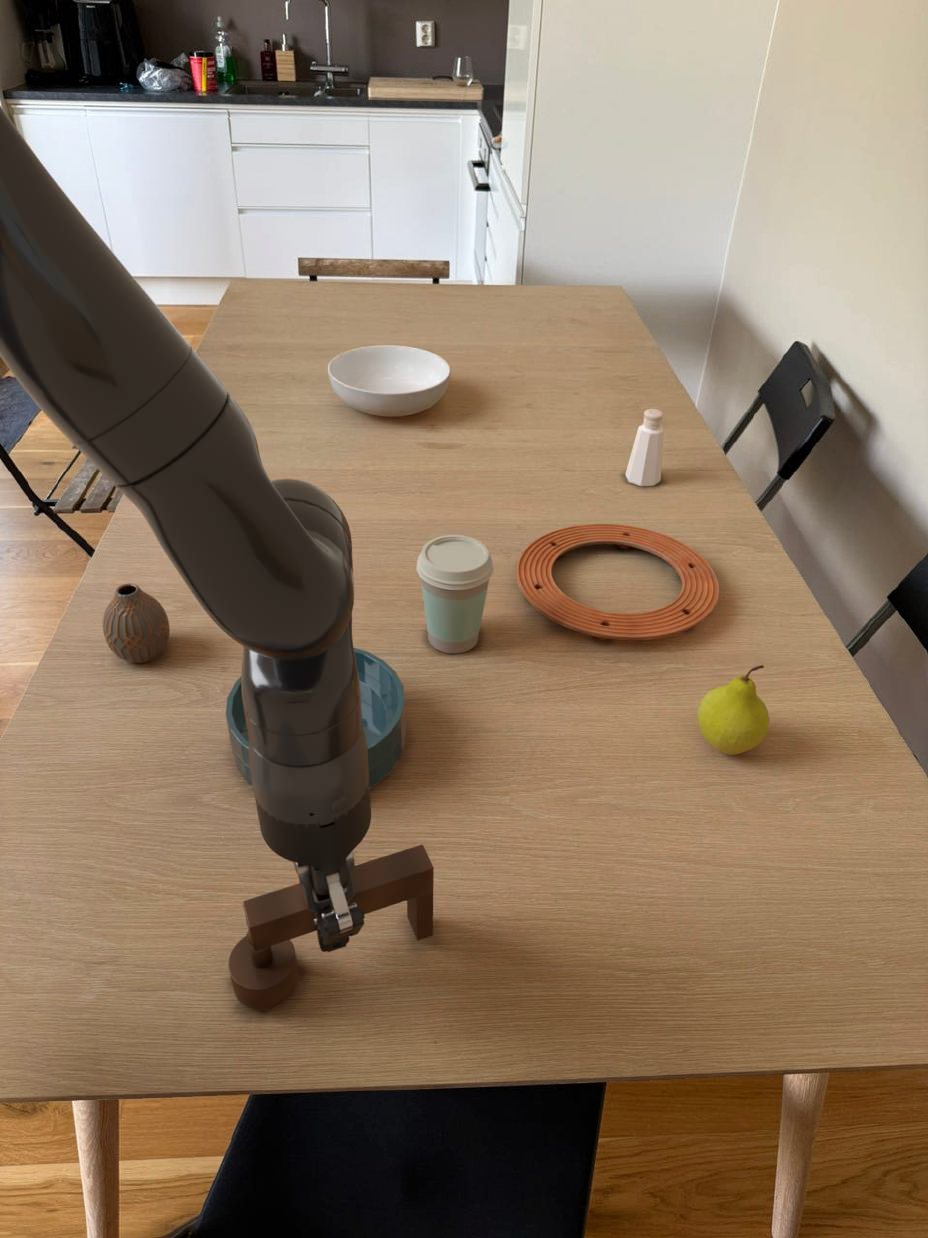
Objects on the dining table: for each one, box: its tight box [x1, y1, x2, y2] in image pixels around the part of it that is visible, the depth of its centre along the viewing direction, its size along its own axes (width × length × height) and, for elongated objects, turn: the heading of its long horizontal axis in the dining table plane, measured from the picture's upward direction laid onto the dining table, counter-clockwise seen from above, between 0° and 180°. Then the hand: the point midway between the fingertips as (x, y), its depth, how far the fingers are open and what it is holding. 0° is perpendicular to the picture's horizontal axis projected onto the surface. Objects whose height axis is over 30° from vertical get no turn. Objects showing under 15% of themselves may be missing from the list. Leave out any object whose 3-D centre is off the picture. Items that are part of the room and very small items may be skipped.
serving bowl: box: [327, 344, 452, 418], centre depth 153 cm, size 21×21×7 cm
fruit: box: [697, 664, 770, 756], centre depth 88 cm, size 7×7×12 cm
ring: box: [515, 523, 720, 641], centre depth 113 cm, size 25×25×2 cm
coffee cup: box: [415, 534, 495, 654], centre depth 101 cm, size 8×8×12 cm
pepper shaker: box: [625, 408, 665, 488], centre depth 133 cm, size 5×5×11 cm
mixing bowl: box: [225, 647, 407, 789], centre depth 89 cm, size 17×17×6 cm
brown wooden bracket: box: [227, 844, 435, 1011], centre depth 68 cm, size 16×5×9 cm, turn 113°
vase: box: [102, 583, 171, 664], centre depth 98 cm, size 7×7×9 cm
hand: (328, 928), depth 69 cm, fingers closed on brown wooden bracket, 2 cm apart
